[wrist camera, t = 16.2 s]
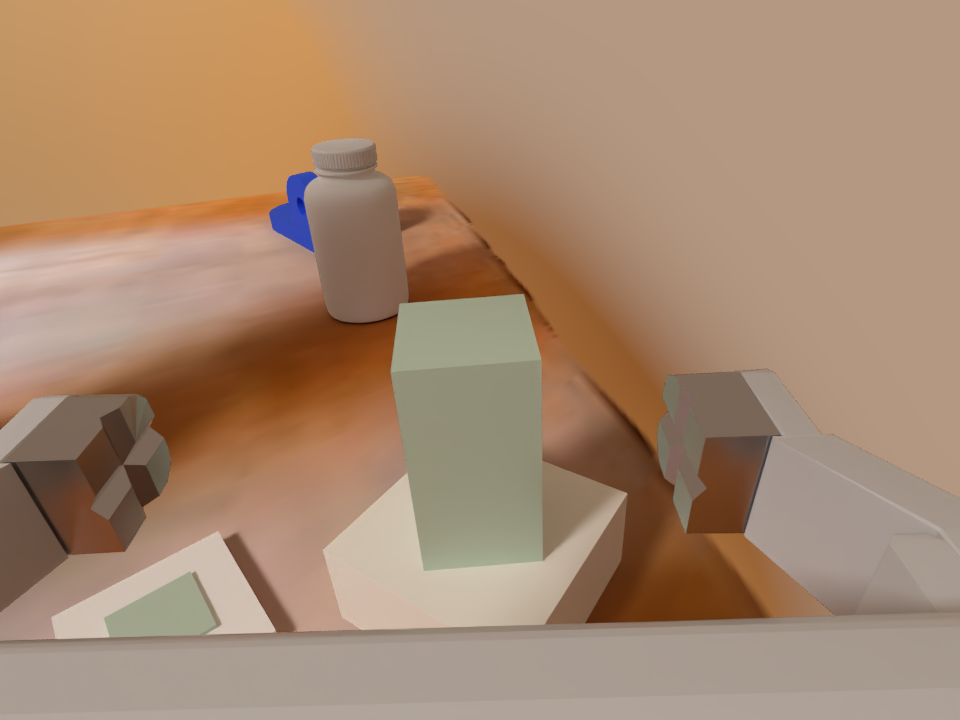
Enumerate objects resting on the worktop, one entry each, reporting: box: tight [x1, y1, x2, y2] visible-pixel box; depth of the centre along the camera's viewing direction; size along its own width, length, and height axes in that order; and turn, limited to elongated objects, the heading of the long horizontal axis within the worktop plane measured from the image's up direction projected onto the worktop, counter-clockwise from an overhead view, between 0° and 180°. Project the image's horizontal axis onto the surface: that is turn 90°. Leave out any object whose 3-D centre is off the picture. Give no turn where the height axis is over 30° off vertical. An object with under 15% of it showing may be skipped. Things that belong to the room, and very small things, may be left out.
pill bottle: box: [304, 138, 409, 323], centre depth 54 cm, size 8×8×15 cm
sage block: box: [391, 294, 543, 571], centre depth 25 cm, size 5×5×10 cm
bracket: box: [269, 172, 318, 253], centre depth 75 cm, size 18×8×9 cm, turn 40°
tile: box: [51, 531, 276, 639], centre depth 28 cm, size 8×8×1 cm
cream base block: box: [323, 461, 628, 630], centre depth 29 cm, size 10×10×5 cm
